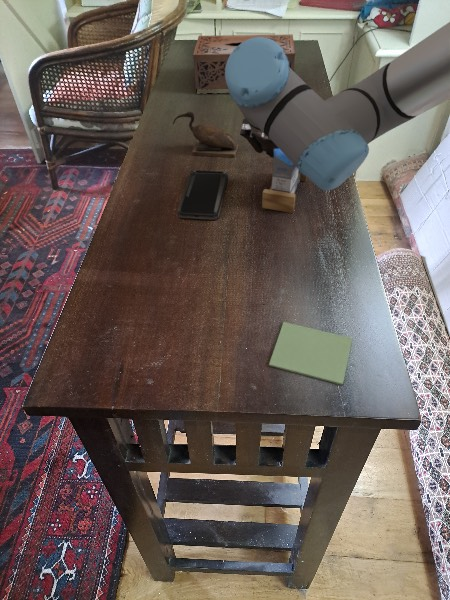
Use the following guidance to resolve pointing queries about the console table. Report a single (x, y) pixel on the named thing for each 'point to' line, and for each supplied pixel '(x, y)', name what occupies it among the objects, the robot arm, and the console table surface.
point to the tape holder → (280, 199)
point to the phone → (203, 195)
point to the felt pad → (311, 353)
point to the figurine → (211, 140)
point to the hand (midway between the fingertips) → (292, 161)
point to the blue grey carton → (284, 173)
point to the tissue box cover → (216, 52)
